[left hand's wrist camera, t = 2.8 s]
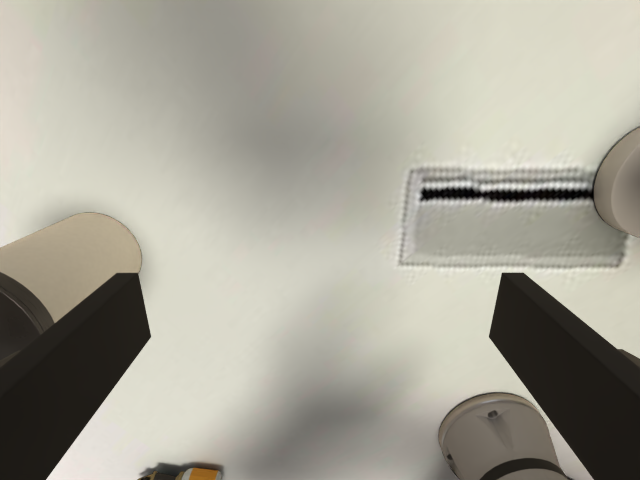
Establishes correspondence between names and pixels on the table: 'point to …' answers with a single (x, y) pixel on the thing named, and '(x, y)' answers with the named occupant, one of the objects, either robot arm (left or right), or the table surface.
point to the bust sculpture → (620, 186)
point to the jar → (71, 259)
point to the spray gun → (187, 475)
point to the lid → (19, 316)
